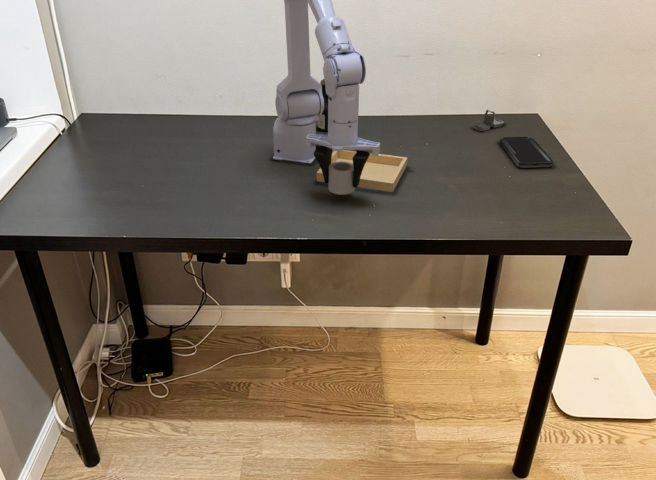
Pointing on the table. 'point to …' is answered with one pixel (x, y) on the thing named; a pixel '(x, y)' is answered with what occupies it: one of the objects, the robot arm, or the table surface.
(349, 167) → the tape roll
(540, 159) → the phone
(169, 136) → the table surface
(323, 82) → the ink bottle
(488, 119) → the strap clip
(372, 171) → the tray
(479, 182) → the table surface
